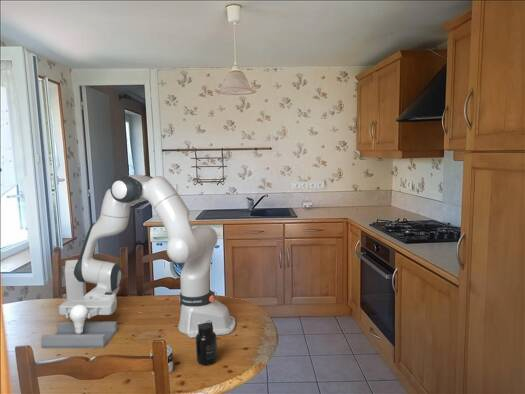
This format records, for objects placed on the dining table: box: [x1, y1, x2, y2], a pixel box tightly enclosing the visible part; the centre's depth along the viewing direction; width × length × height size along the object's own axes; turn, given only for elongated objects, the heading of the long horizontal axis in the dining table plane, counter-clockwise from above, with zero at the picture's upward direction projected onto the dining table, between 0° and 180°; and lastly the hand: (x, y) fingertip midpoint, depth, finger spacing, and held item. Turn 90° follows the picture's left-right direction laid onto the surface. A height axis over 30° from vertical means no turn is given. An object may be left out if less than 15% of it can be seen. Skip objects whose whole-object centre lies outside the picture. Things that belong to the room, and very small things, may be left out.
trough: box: [40, 321, 118, 349], centre depth 137 cm, size 22×12×4 cm, turn 89°
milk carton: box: [64, 259, 87, 301], centre depth 174 cm, size 7×7×19 cm
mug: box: [149, 343, 174, 376], centre depth 118 cm, size 10×7×7 cm
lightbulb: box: [69, 305, 88, 334], centre depth 136 cm, size 6×6×11 cm
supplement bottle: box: [195, 323, 218, 366], centre depth 122 cm, size 7×7×12 cm
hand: (77, 316), depth 135 cm, fingers closed on lightbulb, 6 cm apart
